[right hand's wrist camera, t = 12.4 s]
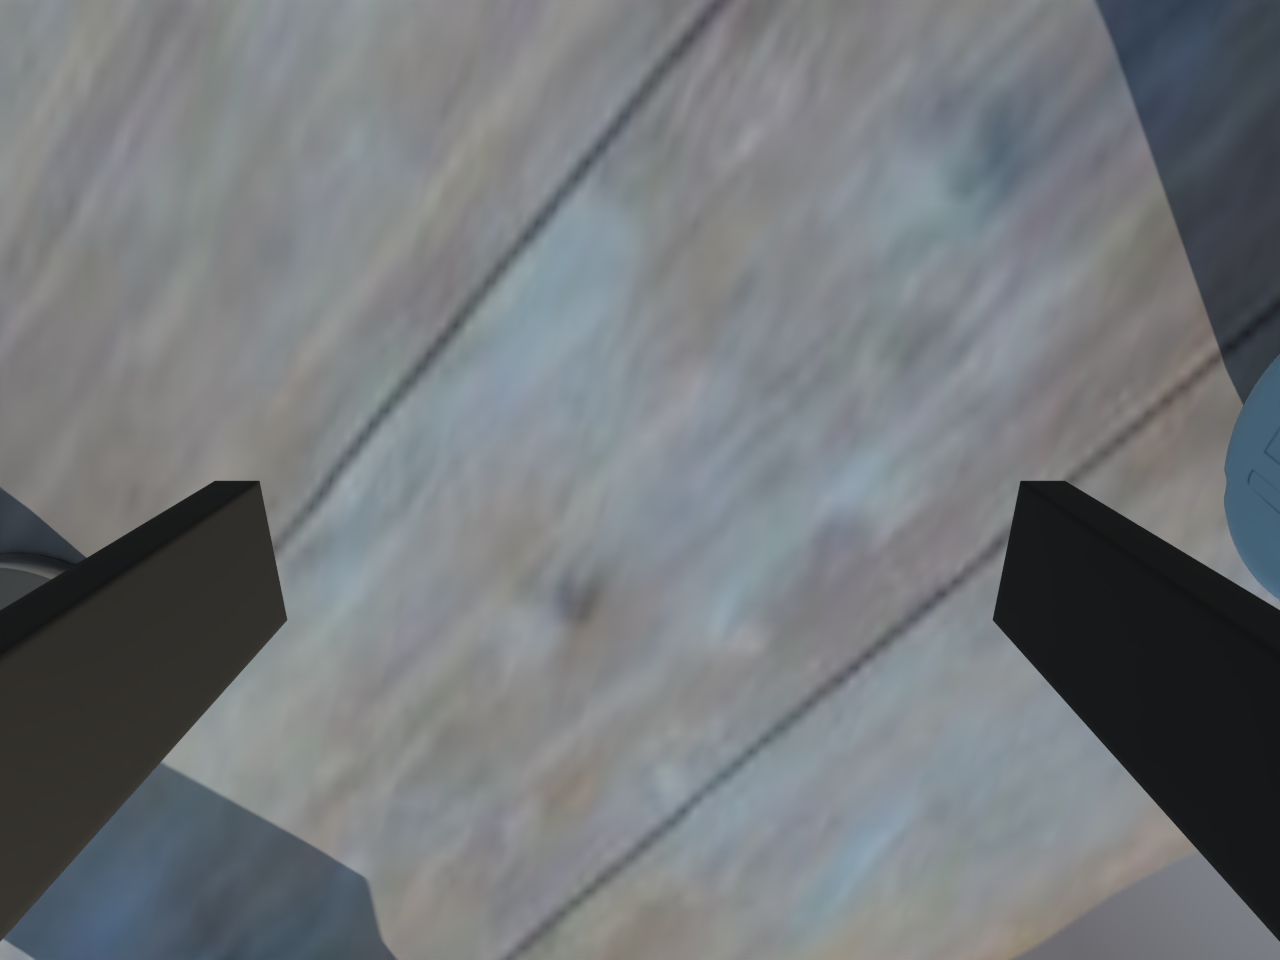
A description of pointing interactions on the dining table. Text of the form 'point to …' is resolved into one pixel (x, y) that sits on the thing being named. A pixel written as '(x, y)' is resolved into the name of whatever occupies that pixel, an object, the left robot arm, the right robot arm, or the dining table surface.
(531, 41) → the dining table surface
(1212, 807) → the right robot arm
